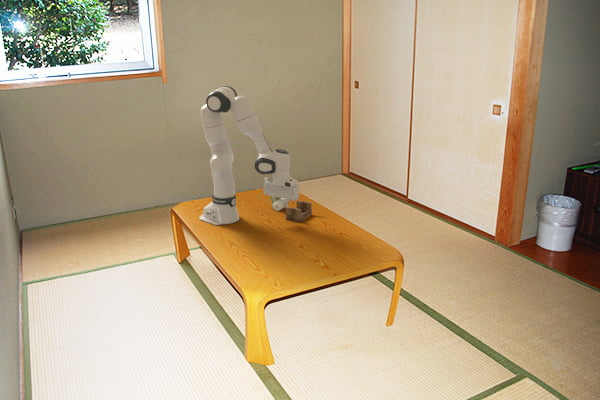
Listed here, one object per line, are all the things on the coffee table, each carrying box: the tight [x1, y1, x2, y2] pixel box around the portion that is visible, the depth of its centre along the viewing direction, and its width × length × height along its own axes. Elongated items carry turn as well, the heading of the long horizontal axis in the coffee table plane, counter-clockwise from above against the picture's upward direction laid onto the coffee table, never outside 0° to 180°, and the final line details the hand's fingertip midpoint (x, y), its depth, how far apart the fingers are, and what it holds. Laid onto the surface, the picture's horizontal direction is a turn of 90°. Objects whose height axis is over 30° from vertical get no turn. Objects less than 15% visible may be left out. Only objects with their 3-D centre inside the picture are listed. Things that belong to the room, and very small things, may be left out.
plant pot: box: [269, 196, 281, 210], centre depth 306 cm, size 9×9×9 cm
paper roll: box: [272, 198, 290, 211], centre depth 281 cm, size 8×5×5 cm, turn 151°
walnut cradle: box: [285, 199, 313, 223], centre depth 292 cm, size 9×13×7 cm
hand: (280, 205), depth 281 cm, fingers closed on paper roll, 5 cm apart
